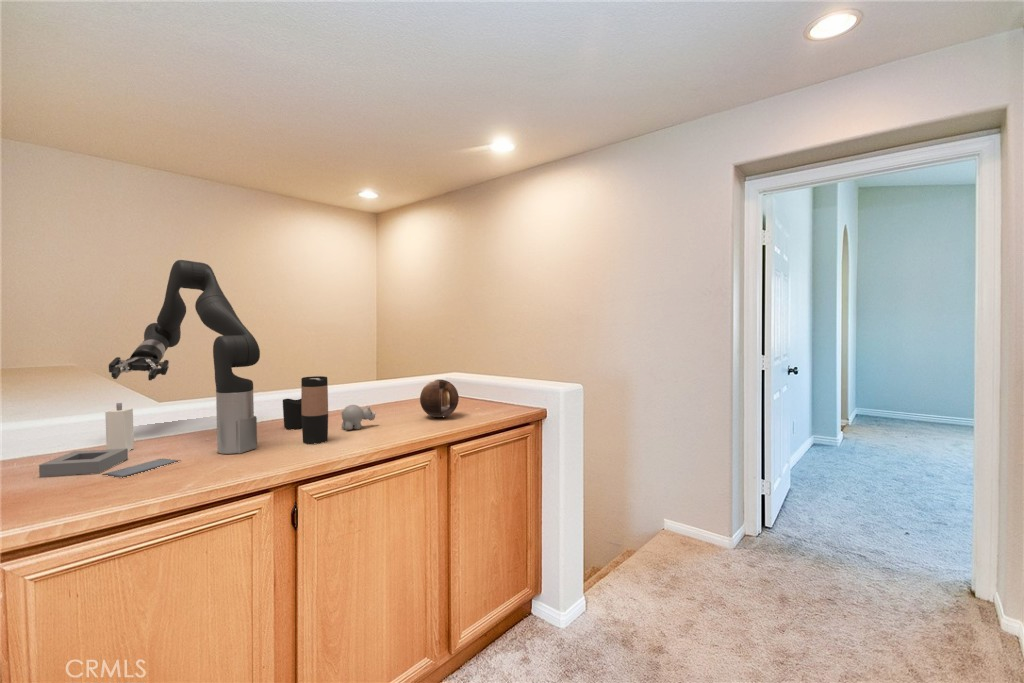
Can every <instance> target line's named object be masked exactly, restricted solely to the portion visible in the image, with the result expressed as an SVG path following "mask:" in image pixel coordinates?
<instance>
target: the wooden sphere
mask: <svg viewBox="0 0 1024 683" xmlns="http://www.w3.org/2000/svg"><path fill="white" fill-rule="evenodd" d="M459 400H460V398H459V393H458V389H457V388H456V387H455V385H454V384H453V383H451V382H450V381H449V380H446V379H433V380H432V381H429V382H428V383H426V385H425V386H423V388H422V390H421V392H420V396H419V403H420V406H421V408H422V410H423V412H424V413H426V414H427V415H428V416H430V417H432V416H433V417H432V418H435V417H443V416H446V417H448V416H450V415H452V414H453V413H454V411H455V410H456V409H457V407H458V404H459ZM443 418H444V417H443Z"/></svg>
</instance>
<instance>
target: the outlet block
mask: <svg viewBox="0 0 1024 683" xmlns="http://www.w3.org/2000/svg"><path fill="white" fill-rule="evenodd" d="M128 454H129V452H128V449H109V450H106V449H95V450H93V449H92V450H91V449H90V450H73V451H72V452H69V453H66V454H64V455H61V456H58V457H56V458H54V459H49V460H48V461H46V462H43V463H41V464H39V465H38V472H39V474H38V475H39V478H49V476H53V477H63V476H62V475H69V476H77V475H76V474H85V475H92V474H91V473H99V474H101V473H103V472H105V471H104V470H106V469H108V468H110V467H112V466H114V465H116V464H118V463H120V462H122V461H124V460H126V459H128V460H129V457H128V456H129V455H128ZM126 461H127V460H126ZM124 462H125V461H124ZM122 463H123V462H122ZM120 464H121V463H120ZM118 465H119V464H118ZM116 466H117V465H116ZM114 467H115V466H114ZM112 468H113V467H112ZM110 469H111V468H110ZM108 470H109V469H108ZM102 471H103V472H102ZM106 471H107V470H106ZM100 472H101V473H100Z"/></svg>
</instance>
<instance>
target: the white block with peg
mask: <svg viewBox="0 0 1024 683" xmlns="http://www.w3.org/2000/svg"><path fill="white" fill-rule="evenodd" d="M133 410H134V409H133V408H123V402H117V403H116V406H115V408H114V409H111V410H107V411H104V412H105V413H104V414H105V415H104V416H105V445H106V449H105V450H109V449H128V451H129V450H131V449H135V443H134V442H135V441H134V437H135V435H134V411H133ZM131 451H132V450H131ZM129 452H130V451H129Z"/></svg>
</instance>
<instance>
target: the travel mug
mask: <svg viewBox="0 0 1024 683" xmlns="http://www.w3.org/2000/svg"><path fill="white" fill-rule="evenodd" d="M300 383H301V384H300V386H301V388H300V389H301V397H300V399H301V402H302V429H301V431H302V432H301V433H302V443H303V444H304V443H307V444H306V445H315V444H314V443H319V444H322V443H321V442H324V443H326V442H328V440H329V439H328V438H329V436H328V435H329V392H328V391H329V390H328V386H329V385H328V384H329V383H328V377H327V376H323V375H322V376H320V375H317V376H314V375H313V376H304V377H301V381H300ZM325 441H326V442H325Z"/></svg>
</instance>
